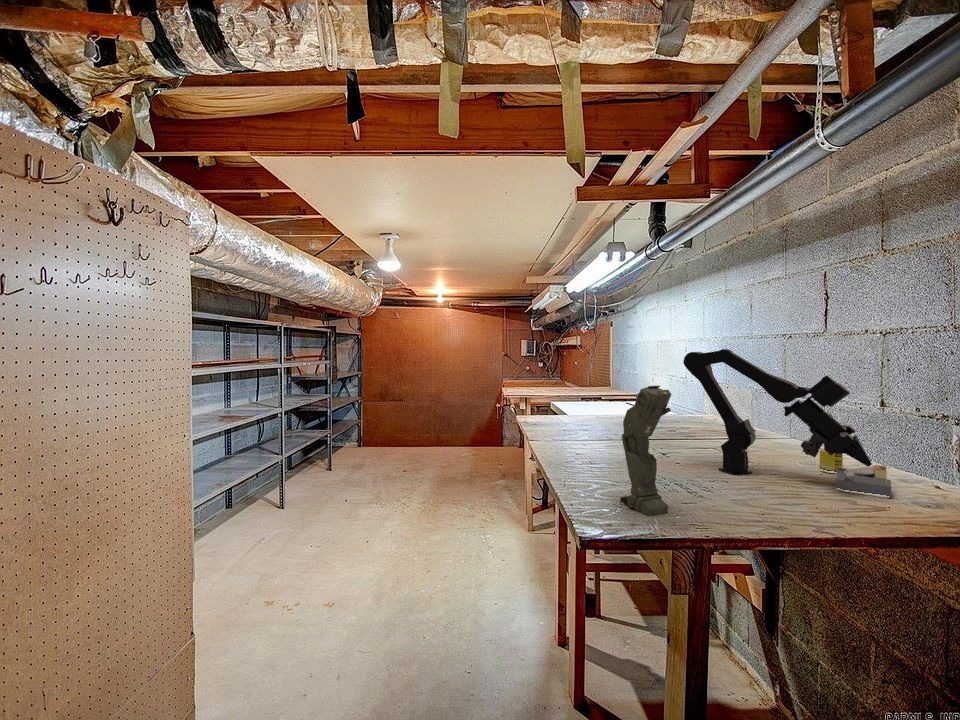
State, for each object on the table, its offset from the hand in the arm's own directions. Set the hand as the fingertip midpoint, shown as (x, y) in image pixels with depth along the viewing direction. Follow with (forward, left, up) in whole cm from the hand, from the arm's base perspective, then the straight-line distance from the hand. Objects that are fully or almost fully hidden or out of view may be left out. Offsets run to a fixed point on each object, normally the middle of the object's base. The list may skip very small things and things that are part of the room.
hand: (870, 465), depth 113 cm
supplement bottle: (+11, +17, -7) cm, 21 cm away
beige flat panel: (-3, +5, -3) cm, 6 cm away
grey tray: (-1, +1, -7) cm, 7 cm away
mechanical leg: (-61, +10, -7) cm, 62 cm away
